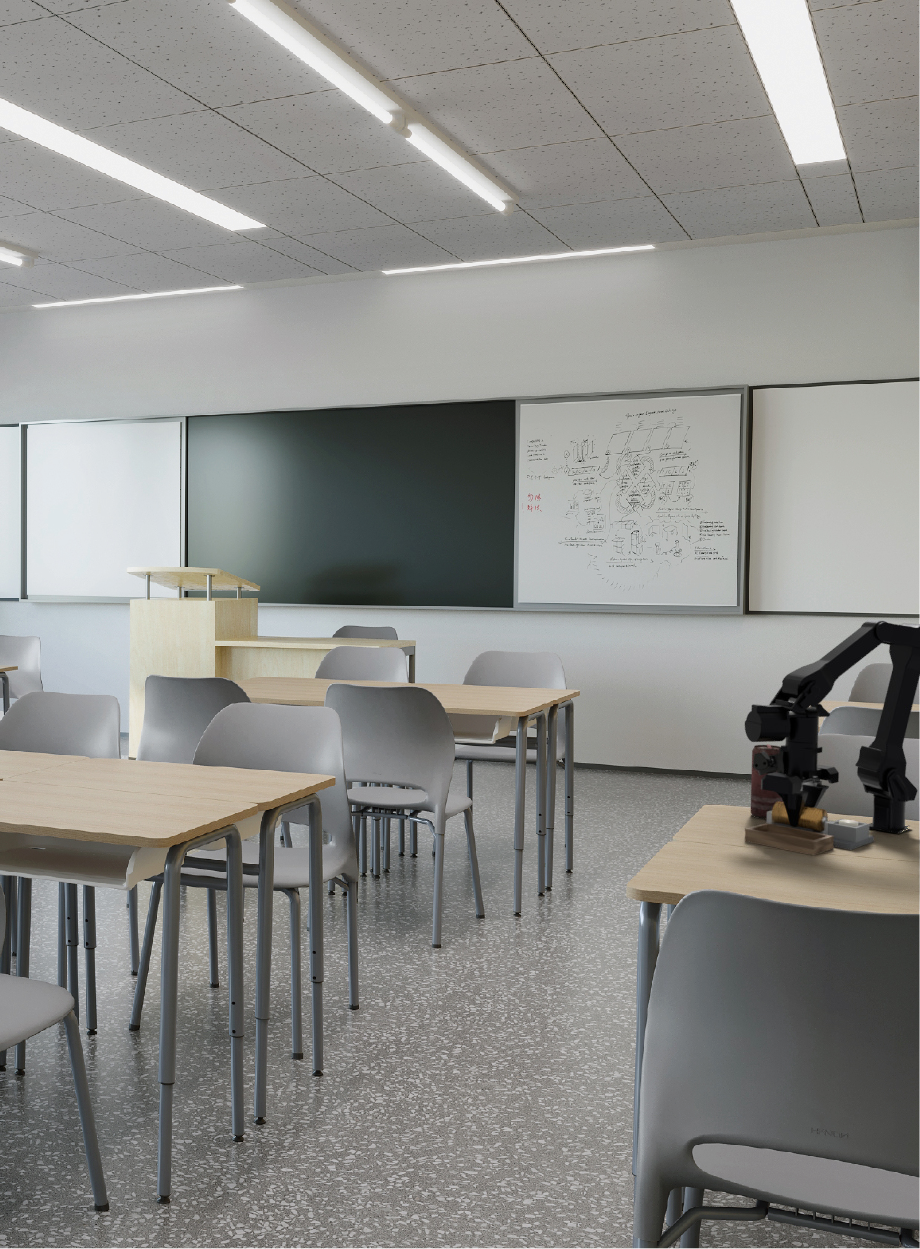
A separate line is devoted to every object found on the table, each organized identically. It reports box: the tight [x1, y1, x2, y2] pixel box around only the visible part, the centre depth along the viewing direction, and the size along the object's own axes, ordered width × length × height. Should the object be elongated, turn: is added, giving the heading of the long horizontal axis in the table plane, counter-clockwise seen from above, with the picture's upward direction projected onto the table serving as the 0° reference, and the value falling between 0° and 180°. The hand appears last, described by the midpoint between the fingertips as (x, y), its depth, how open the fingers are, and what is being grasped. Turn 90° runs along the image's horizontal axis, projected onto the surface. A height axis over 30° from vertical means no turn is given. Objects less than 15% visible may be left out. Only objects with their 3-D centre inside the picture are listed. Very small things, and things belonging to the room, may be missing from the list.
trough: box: [744, 822, 834, 856], centre depth 182 cm, size 7×13×2 cm, turn 44°
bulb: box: [838, 819, 859, 827], centre depth 184 cm, size 3×3×2 cm
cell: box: [772, 801, 829, 831], centre depth 191 cm, size 4×10×4 cm, turn 44°
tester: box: [766, 810, 875, 851], centre depth 189 cm, size 9×18×4 cm, turn 44°
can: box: [750, 744, 783, 820], centre depth 205 cm, size 6×6×14 cm
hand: (799, 824), depth 191 cm, fingers closed on cell, 4 cm apart
